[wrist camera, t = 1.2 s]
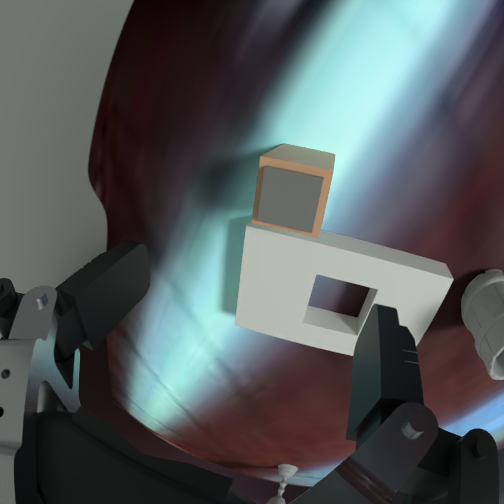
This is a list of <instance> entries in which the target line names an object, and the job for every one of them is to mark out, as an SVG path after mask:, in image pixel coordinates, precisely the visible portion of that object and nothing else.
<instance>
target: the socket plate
mask: <svg viewBox="0 0 504 504" xmlns="http://www.w3.org/2000/svg"><path fill="white" fill-rule="evenodd" d="M316 274H318V275H322V276H326V277H330V278H334V279H338V280H342V281H346V282H350V283H354V284H358V285H362V286H366V287H370V290H369V292H368V295H367V297H366V299H365V302H364V304H363V307H362V309H361V311H360V314H359V316H358V318H357V317H353V316H349V315H344V314H340V313H336V312H332V311H328V310H324V309H320V308H316V307H312V306H308V302H309V298H310V295H311V292H312V288H313V285H314V281H315V278H316ZM453 280H454V279H453V277H452V275H451V273H450V271H449V269H448V267H447V266H446V264H445V263H442V262H438V261H435V260H431V259H428V258H424V257H421V256H417V255H414V254H410V253H407V252H403V251H400V250H396V249H392V248H389V247H385V246H381V245H378V244H374V243H370V242H366V241H363V240H359V239H355V238H351V237H347V236H343V235H339V234H335V233H331V232H327V231H323V230H320V234H319V238H315V237H311V236H307V235H303V234H298V233H294V232H290V231H286V230H282V229H278V228H273V227H269V226H265V225H260V224H256V223H252V219H251V221H250V222H249V223H248V224H247V225H246V230H245V239H244V247H243V256H242V265H241V273H240V282H239V291H238V300H237V309H236V318H235V325H237V326H240V327H243V328H247V329H250V330H253V331H257V332H260V333H264V334H267V335H271V336H275V337H278V338H282V339H286V340H289V341H293V342H297V343H301V344H305V345H309V346H313V347H317V348H321V349H325V350H329V351H334V352H338V353H342V354H347V355H351V356H353V355H354V349H355V345H356V342H357V339H358V336H359V334H360V332H361V330H362V328H363V326H364V323H365V321H366V319H367V317H368V314H369V312H370V310H371V308H372V306H373V304H375V303H376V304H380V305H384V306H389V307H393V308H396V309H397V312H398V318H399V324H400V325H402V326H406V327H407V328H408V329H409V331H410V332H411V334H412V335H413V337H414V339H415V344H416V346H417V345H418V343H419V341H420V340H421V338H422V337H423V335H424V333H425V332H426V330H427V328H428V327H429V325H430V323H431V321H432V320H433V318H434V316H435V314H436V313H437V311H438V309H439V307H440V305H441V303H442V302H443V300H444V298H445V296H446V294H447V292H448V290H449V288H450V286H451V284H452V282H453Z"/></svg>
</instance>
